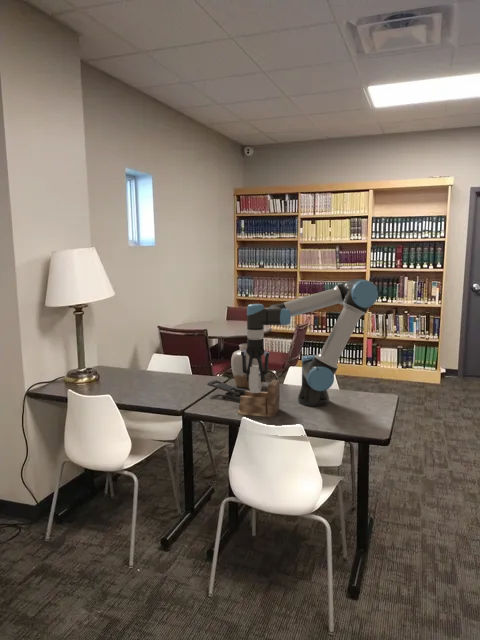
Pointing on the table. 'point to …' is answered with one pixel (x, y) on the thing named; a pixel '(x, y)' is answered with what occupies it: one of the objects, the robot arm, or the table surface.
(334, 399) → the table surface
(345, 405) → the table surface
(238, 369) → the vase
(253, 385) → the white tall block
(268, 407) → the wooden box
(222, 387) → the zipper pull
